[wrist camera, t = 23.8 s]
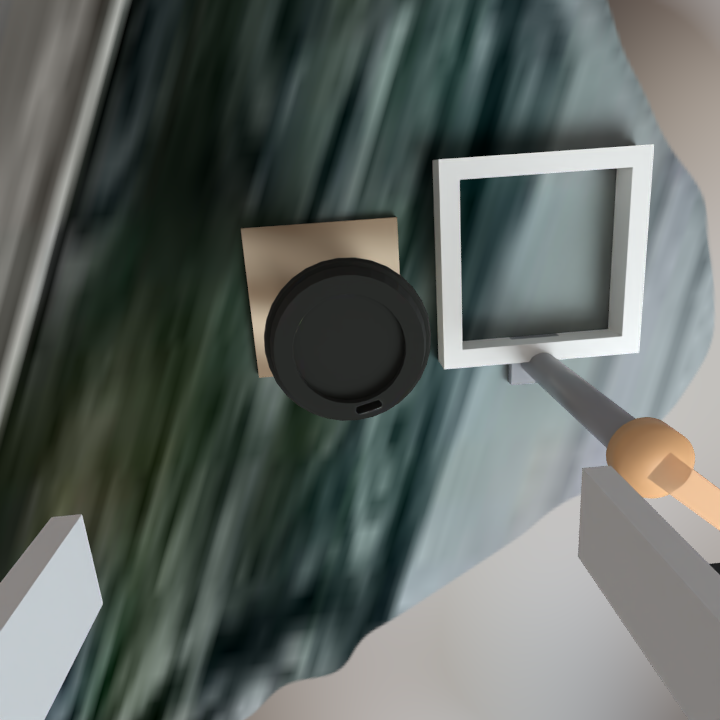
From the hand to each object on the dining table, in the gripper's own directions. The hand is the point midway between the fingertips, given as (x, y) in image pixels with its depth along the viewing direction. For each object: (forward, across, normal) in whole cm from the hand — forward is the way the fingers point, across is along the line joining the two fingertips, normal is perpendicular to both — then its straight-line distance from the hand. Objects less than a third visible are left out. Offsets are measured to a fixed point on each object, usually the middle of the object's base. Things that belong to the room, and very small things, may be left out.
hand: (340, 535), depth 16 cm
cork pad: (+34, 0, 0) cm, 34 cm away
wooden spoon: (+16, +21, -11) cm, 29 cm away
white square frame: (+34, +17, 0) cm, 38 cm away
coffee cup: (+34, +1, 0) cm, 34 cm away
